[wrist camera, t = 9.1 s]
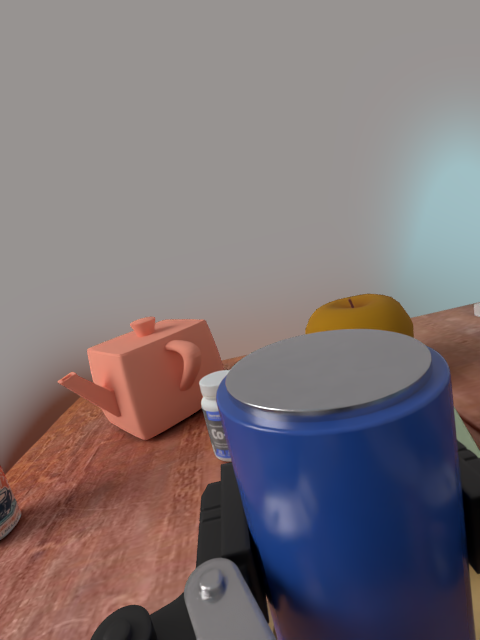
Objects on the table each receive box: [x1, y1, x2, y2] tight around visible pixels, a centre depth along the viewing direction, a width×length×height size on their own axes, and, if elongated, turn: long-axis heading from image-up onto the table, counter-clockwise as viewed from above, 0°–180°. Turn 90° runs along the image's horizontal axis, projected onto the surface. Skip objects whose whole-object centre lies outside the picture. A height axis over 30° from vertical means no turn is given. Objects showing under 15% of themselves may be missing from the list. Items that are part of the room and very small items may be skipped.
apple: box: [306, 294, 414, 338], centre depth 43 cm, size 13×13×11 cm
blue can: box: [216, 329, 476, 640], centre depth 9 cm, size 5×5×12 cm
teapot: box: [58, 317, 224, 440], centre depth 47 cm, size 20×22×14 cm
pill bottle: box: [199, 370, 231, 462], centre depth 36 cm, size 5×5×8 cm
